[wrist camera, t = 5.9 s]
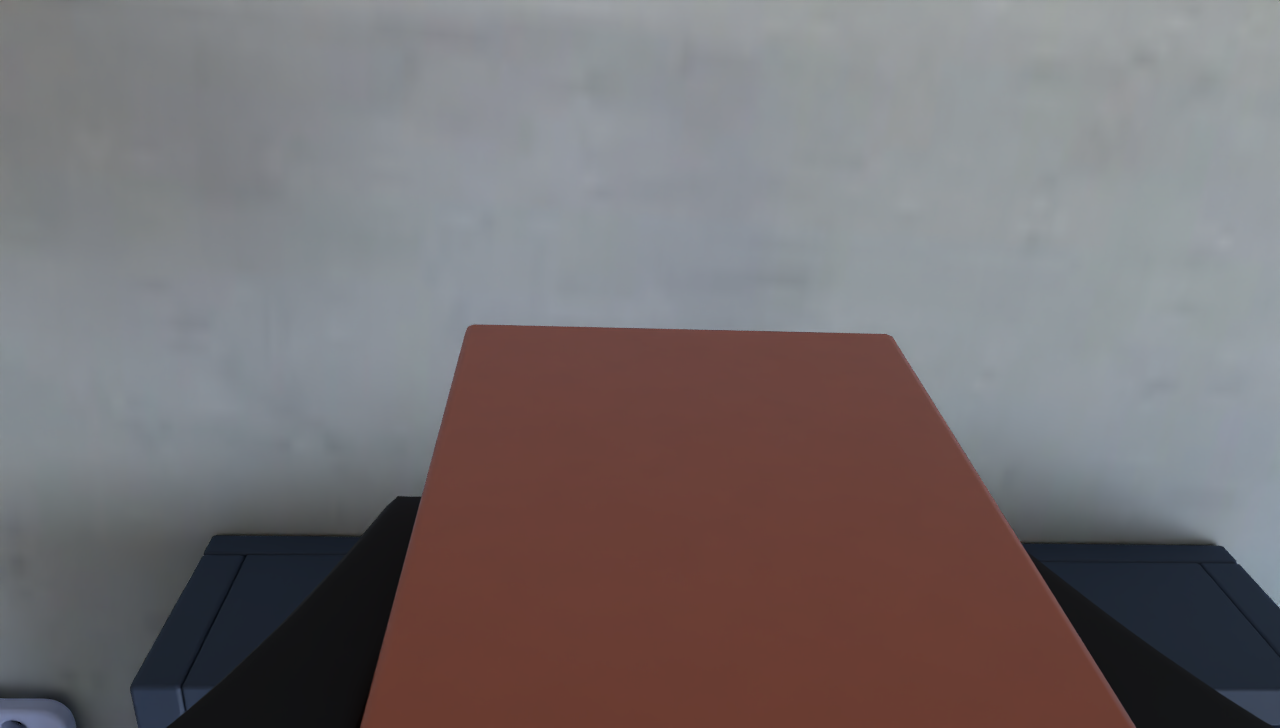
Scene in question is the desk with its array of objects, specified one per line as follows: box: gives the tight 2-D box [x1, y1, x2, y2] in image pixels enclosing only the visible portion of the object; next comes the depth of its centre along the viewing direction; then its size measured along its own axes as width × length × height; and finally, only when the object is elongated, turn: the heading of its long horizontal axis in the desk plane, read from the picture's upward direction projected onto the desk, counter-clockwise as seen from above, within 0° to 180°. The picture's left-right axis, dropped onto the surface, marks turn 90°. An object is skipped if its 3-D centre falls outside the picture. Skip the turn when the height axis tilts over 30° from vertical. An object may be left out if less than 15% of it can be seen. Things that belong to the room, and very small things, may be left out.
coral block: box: [360, 325, 1136, 728], centre depth 9 cm, size 4×4×6 cm
